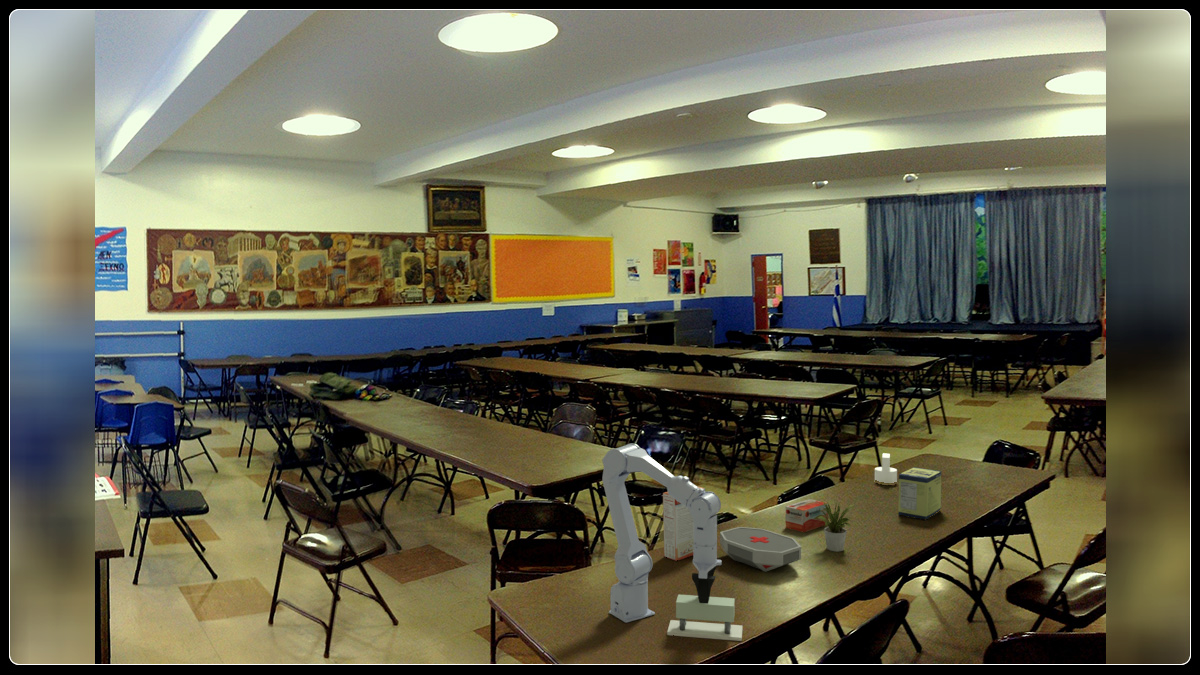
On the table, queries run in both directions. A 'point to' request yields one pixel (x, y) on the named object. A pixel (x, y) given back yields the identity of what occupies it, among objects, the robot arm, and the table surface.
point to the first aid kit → (760, 547)
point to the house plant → (835, 528)
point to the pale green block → (705, 608)
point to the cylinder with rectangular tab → (886, 471)
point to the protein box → (919, 493)
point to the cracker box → (677, 529)
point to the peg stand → (705, 630)
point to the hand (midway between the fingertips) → (705, 596)
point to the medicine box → (805, 515)
